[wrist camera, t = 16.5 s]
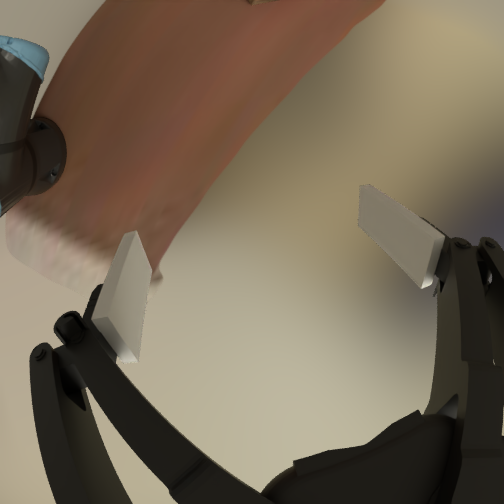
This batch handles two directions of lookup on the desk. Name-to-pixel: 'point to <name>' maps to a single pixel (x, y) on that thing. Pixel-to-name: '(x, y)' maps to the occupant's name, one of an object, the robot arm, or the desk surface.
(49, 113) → the desk surface
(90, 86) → the desk surface
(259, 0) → the walnut block
